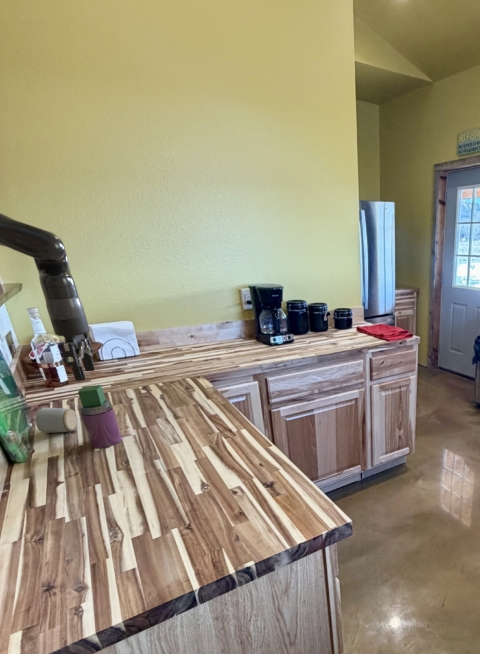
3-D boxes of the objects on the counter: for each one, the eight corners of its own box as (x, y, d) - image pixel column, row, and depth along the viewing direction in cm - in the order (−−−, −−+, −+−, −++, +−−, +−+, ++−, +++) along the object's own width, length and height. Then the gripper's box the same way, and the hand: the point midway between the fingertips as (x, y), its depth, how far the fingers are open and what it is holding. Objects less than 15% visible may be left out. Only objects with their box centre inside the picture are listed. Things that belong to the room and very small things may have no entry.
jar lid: (76, 416, 113) (74, 409, 113) (85, 406, 120) (83, 400, 119) (108, 413, 116) (106, 406, 115) (114, 403, 122) (112, 397, 121)
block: (82, 407, 114) (77, 391, 112) (87, 401, 118) (82, 386, 116) (101, 405, 116) (96, 389, 114) (105, 399, 119) (101, 384, 118)
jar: (86, 450, 117) (73, 412, 112) (94, 437, 124) (83, 402, 119) (118, 445, 120) (107, 408, 115) (124, 434, 126) (114, 399, 122)
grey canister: (69, 435, 125) (61, 411, 122) (39, 437, 124) (31, 413, 121) (87, 421, 135) (80, 399, 132) (60, 423, 134) (52, 400, 131)
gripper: (60, 311, 112) (78, 369, 119) (39, 321, 100) (60, 385, 106) (92, 310, 114) (108, 366, 121) (75, 319, 102) (94, 382, 108)
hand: (85, 375), depth 114 cm, fingers open, 8 cm apart
